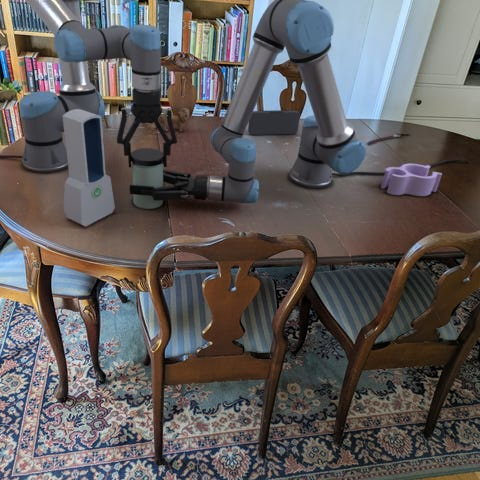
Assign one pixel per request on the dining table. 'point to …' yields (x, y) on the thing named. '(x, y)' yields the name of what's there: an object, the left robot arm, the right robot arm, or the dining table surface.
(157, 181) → the jar
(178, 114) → the lion figurine
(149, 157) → the lid
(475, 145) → the dining table surface
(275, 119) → the handheld gaming console
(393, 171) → the clip
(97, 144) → the electronic device
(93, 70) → the miniature windmill
